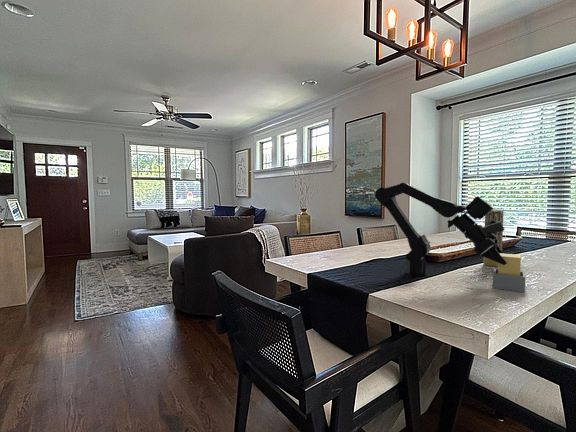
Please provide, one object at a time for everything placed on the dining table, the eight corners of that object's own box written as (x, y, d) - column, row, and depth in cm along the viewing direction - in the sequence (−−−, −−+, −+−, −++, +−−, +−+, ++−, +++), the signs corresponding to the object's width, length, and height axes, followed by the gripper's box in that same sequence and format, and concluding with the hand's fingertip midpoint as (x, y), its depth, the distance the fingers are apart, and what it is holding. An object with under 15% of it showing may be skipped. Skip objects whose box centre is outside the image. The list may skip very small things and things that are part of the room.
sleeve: (492, 287, 106) (493, 273, 106) (493, 281, 113) (494, 268, 113) (524, 292, 101) (525, 277, 101) (524, 285, 108) (524, 271, 108)
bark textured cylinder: (505, 267, 136) (507, 209, 134) (489, 267, 136) (491, 210, 134) (494, 263, 142) (496, 209, 141) (480, 263, 142) (481, 209, 141)
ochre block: (497, 287, 107) (498, 255, 106) (498, 283, 112) (499, 253, 111) (519, 290, 103) (520, 257, 102) (519, 286, 108) (520, 254, 107)
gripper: (486, 214, 102) (528, 251, 96) (490, 211, 117) (526, 243, 111) (459, 237, 107) (496, 272, 101) (465, 231, 122) (498, 262, 116)
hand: (505, 261), depth 107 cm, fingers open, 9 cm apart
